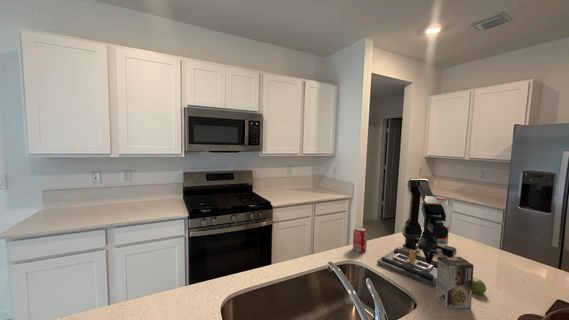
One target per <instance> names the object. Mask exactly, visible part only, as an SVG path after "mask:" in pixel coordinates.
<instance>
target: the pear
mask: <svg viewBox="0 0 569 320" xmlns="http://www.w3.org/2000/svg"><path fill="white" fill-rule="evenodd" d="M486 291H487V286H486V284H485V282H483V280H481V279H479V278H477V277H473V283H472V293H474V294H478V295H482V294H484V293H486Z"/></svg>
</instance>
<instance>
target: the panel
mask: <svg viewBox="0 0 569 320" xmlns="http://www.w3.org/2000/svg"><path fill="white" fill-rule="evenodd" d="M382 257H385V258H387V259H390V260H393V261H395V262H398V263H400V264H403V265H406V266H408V267H411V268H413V269H416V270H419V271H421V272H424V273H426V274H429V275H432V276H433V280H432V279H430V278H427V277H425V276H422V275H420V274H417V273H415V272H412V271H410V270H407V269H405V268H402V267H400V266H397V265H394V264H392V263H389V262H387V261H384V260H382V259H381V258H382ZM382 257H380V258H379V259H377V261H376V263H377V265H378V266H380V267H382V268H386V269H388V270H390V271H392V272H395V273H398V274H400V275H402V276H405V277H406V278H407V277H408V278H409V279H412V280H414V281H415V282H416V281H417V282H419V283H421V284H423V285H426V286H428V287H431V288H434V287H435V286H436V283H437V267H436V266H433V265H429V264H427V263H425V262H422V261H419V260H417V259H416V261H418V264H417V265H416V264H414V263H411V262H408V261H407V260H408V259H409V257H408V256H405V255H402V254H400V253H396V252H394V249H393V250H391V251H390V252H389V253H387V254H385V255H384V256H382Z"/></svg>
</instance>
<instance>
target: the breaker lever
mask: <svg viewBox="0 0 569 320" xmlns="http://www.w3.org/2000/svg"><path fill="white" fill-rule="evenodd" d="M408 252H409V259H408V260H407V261H408V262H411V263H414V264H416V265H417V264H418V261H416V255H417V250H416V249H415V250H413V249H410V250H409V251H408Z"/></svg>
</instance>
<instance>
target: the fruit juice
mask: <svg viewBox="0 0 569 320" xmlns="http://www.w3.org/2000/svg"><path fill="white" fill-rule="evenodd" d="M435 199H437V200H439V202H440V203H441V205H442V206H443V208H444V211H445V215H446V218H445V219H446V221H442V222H443V225H444V226H445V227H446V228H447V230H448V233H449V228H450V221H449V217H450V211H449V209H448V206H447V204H446V202H447V198H446V197H444V196H443V197H442V196H436V197H435ZM433 216H434V215H433ZM440 217H441V215H440ZM445 245H447V246H449V234H448V235H447V237H445V238H443V239H438V246H441V247H444V246H445Z"/></svg>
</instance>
